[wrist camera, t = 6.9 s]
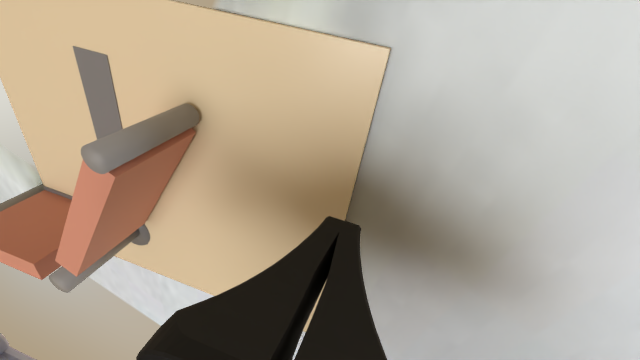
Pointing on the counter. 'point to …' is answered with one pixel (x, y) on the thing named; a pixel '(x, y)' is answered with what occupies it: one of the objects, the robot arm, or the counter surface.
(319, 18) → the counter surface
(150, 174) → the fence gate
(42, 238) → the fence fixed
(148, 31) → the card
